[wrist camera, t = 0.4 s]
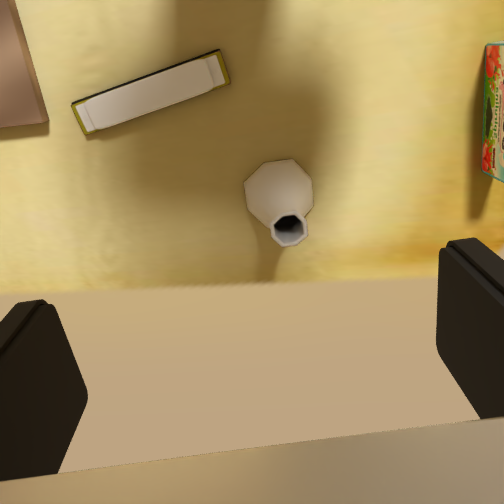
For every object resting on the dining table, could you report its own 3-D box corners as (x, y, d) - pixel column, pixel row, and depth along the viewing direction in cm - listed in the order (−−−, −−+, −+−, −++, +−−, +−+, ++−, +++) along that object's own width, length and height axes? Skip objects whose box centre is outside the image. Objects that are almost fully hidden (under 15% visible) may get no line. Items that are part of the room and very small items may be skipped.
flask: (262, 237, 48) (268, 281, 39) (231, 178, 45) (229, 211, 36) (324, 208, 47) (345, 247, 38) (296, 145, 44) (312, 171, 35)
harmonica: (219, 48, 41) (218, 48, 39) (230, 82, 42) (230, 84, 40) (73, 101, 42) (66, 104, 40) (88, 133, 43) (82, 137, 42)
